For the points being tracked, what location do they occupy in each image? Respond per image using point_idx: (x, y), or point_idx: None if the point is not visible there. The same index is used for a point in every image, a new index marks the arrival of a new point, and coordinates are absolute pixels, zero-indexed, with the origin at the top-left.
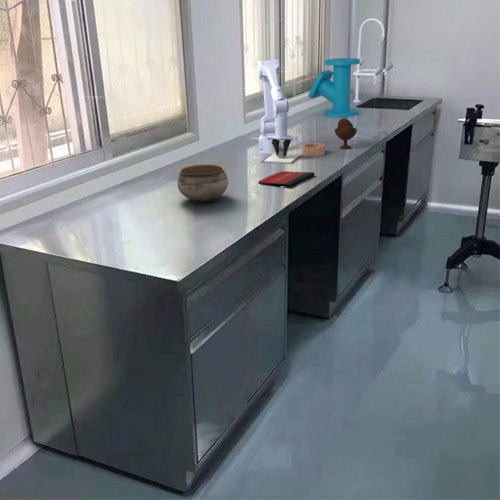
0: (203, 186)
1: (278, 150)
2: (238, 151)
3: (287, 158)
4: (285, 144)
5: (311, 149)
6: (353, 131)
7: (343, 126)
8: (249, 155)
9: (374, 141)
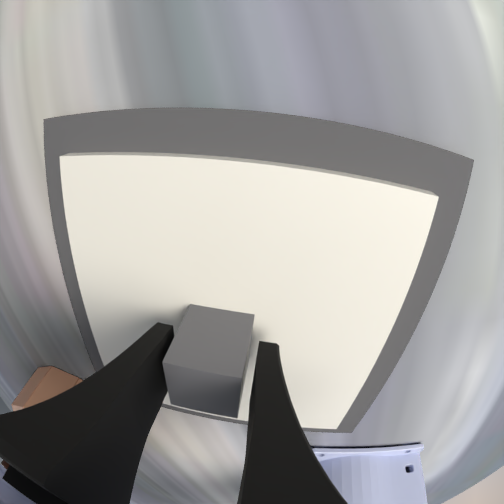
0: None
1: (250, 418)
2: (497, 437)
3: (148, 309)
4: (38, 429)
5: None
6: (2, 461)
7: None
8: (484, 404)
9: None
